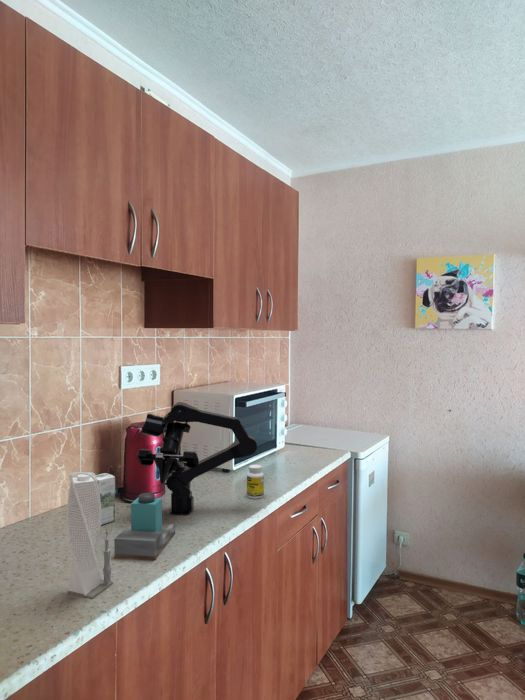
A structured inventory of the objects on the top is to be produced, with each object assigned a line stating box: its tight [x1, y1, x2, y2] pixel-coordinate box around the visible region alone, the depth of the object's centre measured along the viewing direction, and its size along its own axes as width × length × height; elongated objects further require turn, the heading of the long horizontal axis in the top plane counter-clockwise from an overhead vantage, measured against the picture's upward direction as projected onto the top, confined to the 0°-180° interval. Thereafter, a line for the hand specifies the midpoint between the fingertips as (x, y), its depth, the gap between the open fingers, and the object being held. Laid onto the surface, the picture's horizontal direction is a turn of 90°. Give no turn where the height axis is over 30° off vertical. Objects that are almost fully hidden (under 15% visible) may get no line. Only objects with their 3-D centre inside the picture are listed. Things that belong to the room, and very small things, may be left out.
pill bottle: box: [246, 464, 265, 500], centre depth 176 cm, size 6×6×11 cm
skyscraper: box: [66, 471, 114, 600], centre depth 112 cm, size 8×8×28 cm
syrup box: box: [95, 472, 116, 526], centre depth 152 cm, size 6×6×14 cm
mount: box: [113, 523, 176, 561], centre depth 136 cm, size 17×11×5 cm, turn 172°
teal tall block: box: [130, 492, 163, 532], centre depth 136 cm, size 5×7×13 cm
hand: (161, 483), depth 148 cm, fingers closed
